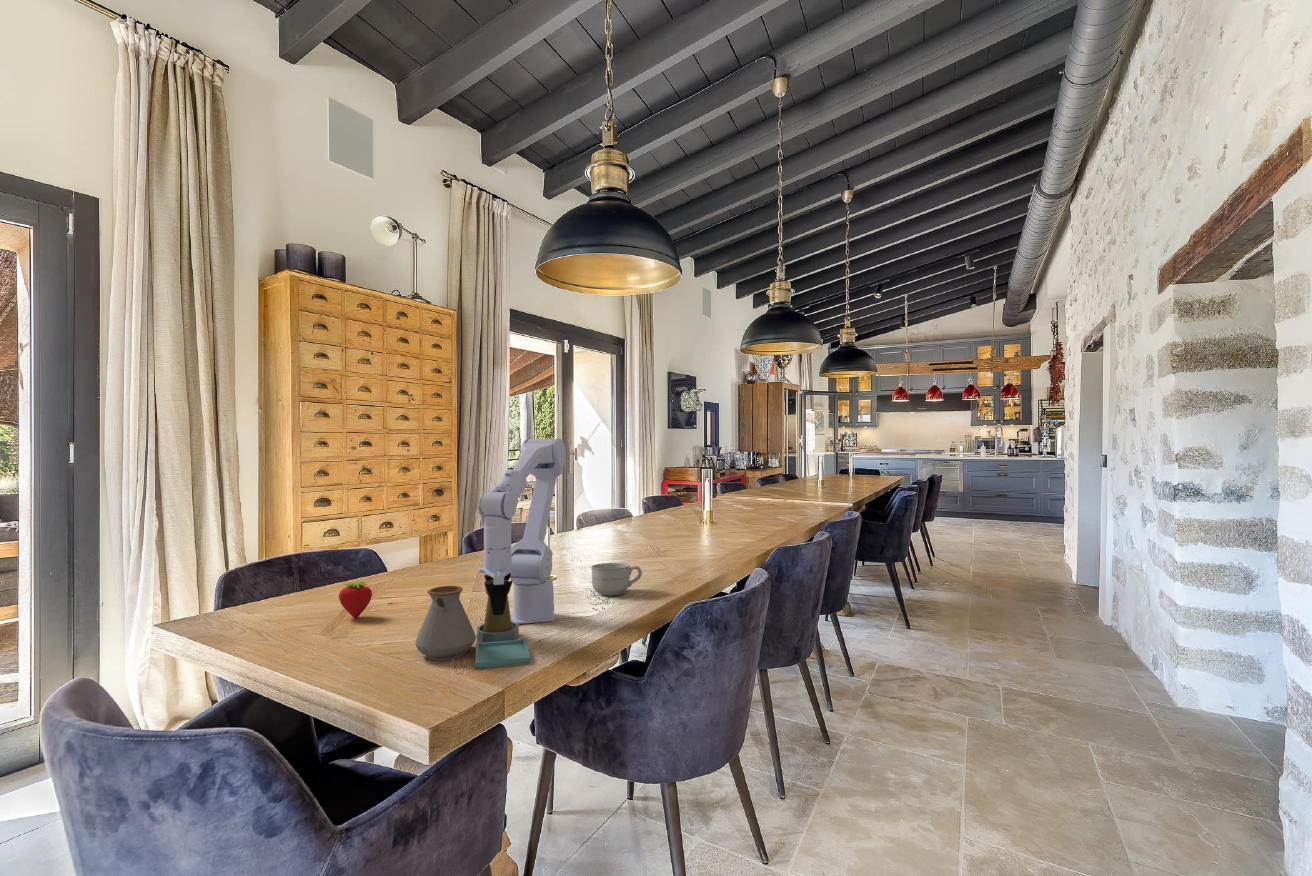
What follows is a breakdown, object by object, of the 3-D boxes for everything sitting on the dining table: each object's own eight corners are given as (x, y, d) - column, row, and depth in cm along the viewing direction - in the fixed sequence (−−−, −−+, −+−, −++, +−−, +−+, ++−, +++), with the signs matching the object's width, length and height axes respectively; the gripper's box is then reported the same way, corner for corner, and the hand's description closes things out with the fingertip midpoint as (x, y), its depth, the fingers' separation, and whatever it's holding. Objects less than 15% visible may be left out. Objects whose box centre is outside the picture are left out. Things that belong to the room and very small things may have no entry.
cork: (517, 628, 132) (517, 577, 132) (501, 636, 126) (502, 583, 126) (493, 625, 134) (494, 575, 134) (477, 633, 128) (477, 581, 128)
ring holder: (517, 630, 135) (517, 619, 135) (519, 643, 127) (519, 631, 127) (477, 634, 133) (477, 622, 133) (477, 647, 124) (476, 635, 124)
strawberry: (345, 614, 148) (345, 573, 148) (376, 613, 148) (376, 573, 148) (333, 621, 142) (333, 579, 142) (365, 621, 142) (365, 578, 142)
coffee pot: (419, 646, 125) (419, 574, 125) (476, 641, 128) (476, 570, 128) (403, 687, 105) (403, 601, 104) (472, 680, 107) (472, 596, 107)
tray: (525, 644, 126) (525, 638, 126) (529, 663, 116) (529, 657, 115) (475, 649, 123) (475, 643, 123) (475, 669, 113) (475, 662, 113)
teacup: (586, 597, 163) (586, 568, 163) (597, 587, 174) (597, 560, 174) (637, 599, 161) (637, 569, 161) (644, 589, 171) (644, 561, 171)
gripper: (478, 542, 136) (478, 602, 136) (478, 554, 122) (478, 622, 122) (510, 540, 138) (511, 600, 138) (514, 552, 124) (514, 619, 124)
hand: (498, 610), depth 130 cm, fingers closed on cork, 5 cm apart
